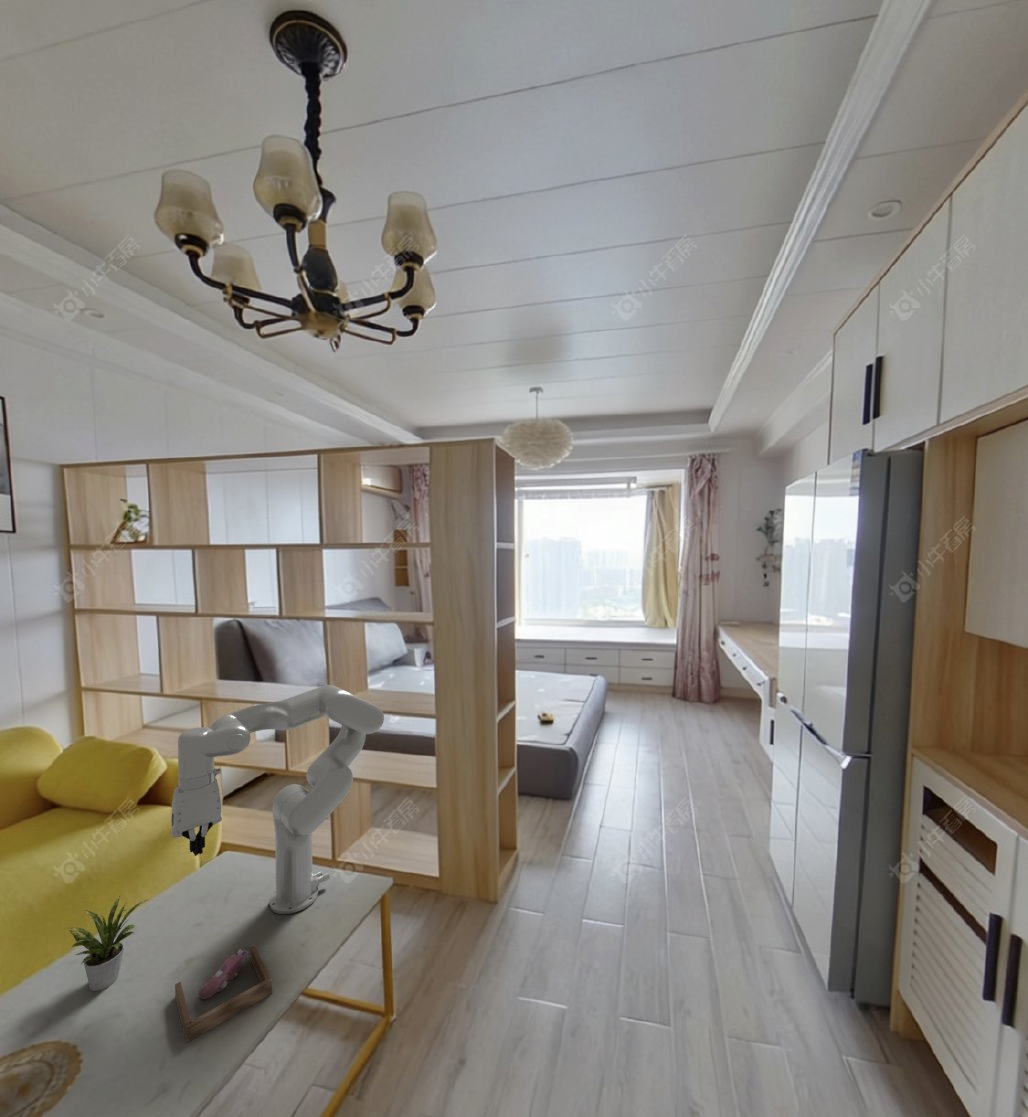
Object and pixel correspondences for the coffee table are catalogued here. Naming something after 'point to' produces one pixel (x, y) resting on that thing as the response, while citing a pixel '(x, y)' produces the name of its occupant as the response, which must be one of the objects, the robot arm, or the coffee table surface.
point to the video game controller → (224, 974)
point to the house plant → (103, 947)
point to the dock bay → (227, 1008)
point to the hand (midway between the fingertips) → (197, 852)
